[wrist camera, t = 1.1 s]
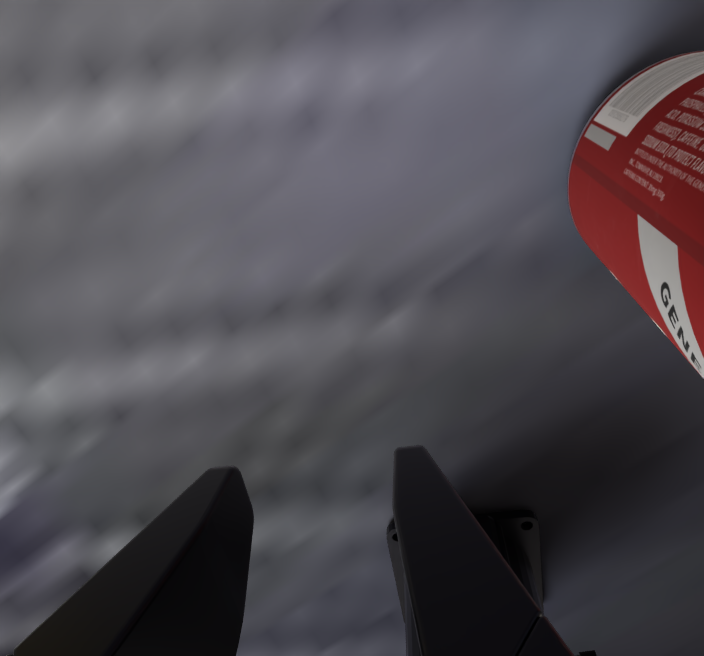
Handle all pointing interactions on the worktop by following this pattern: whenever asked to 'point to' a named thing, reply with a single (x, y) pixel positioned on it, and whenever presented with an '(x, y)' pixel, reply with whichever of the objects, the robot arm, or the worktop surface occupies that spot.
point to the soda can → (649, 194)
